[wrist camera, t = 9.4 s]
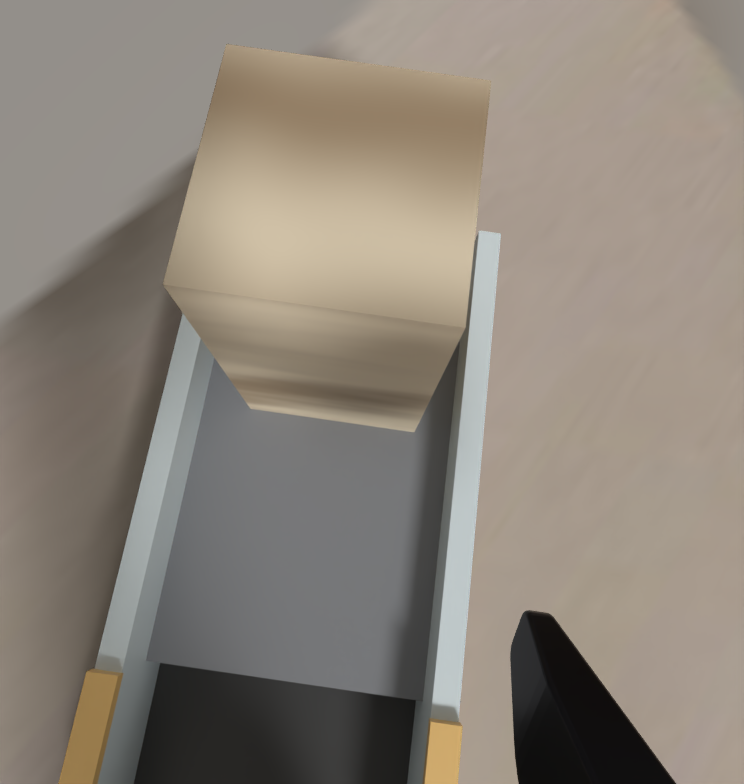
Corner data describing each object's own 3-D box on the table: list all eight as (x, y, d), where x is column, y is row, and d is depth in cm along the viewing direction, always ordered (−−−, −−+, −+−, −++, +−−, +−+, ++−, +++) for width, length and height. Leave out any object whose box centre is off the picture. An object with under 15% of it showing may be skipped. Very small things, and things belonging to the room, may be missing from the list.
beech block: (414, 432, 21) (465, 327, 11) (250, 408, 21) (162, 284, 11) (432, 283, 23) (491, 80, 13) (280, 261, 23) (226, 44, 13)
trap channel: (413, 967, 18) (431, 1092, 14) (79, 917, 18) (-3, 1026, 14) (479, 283, 25) (505, 227, 21) (233, 249, 25) (208, 186, 21)
